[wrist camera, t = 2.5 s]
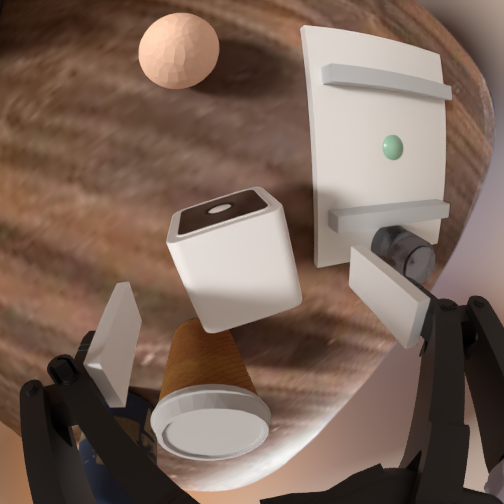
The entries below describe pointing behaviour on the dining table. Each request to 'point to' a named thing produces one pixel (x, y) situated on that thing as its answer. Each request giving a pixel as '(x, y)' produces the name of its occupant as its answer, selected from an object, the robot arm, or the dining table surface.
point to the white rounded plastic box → (235, 258)
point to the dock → (373, 139)
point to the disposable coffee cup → (208, 398)
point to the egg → (179, 51)
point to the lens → (404, 252)
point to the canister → (139, 430)
